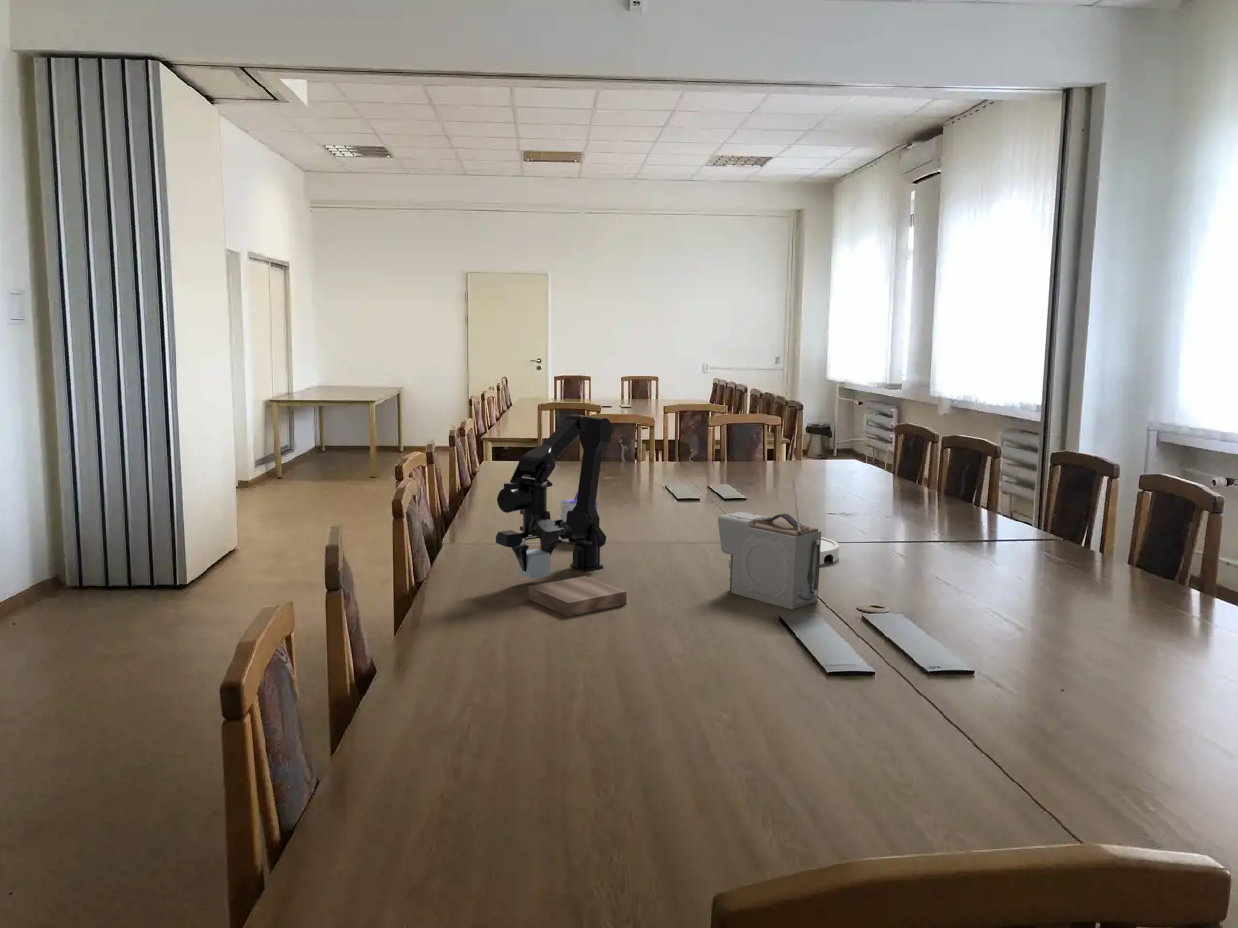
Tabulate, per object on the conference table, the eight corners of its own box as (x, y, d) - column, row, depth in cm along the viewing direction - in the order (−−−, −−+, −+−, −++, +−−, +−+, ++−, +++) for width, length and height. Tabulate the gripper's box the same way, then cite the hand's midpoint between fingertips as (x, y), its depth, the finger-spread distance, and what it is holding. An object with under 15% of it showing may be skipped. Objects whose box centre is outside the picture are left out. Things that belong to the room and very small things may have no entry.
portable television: (741, 580, 228) (746, 462, 224) (822, 601, 211) (829, 474, 207) (710, 589, 220) (714, 467, 215) (792, 611, 203) (799, 479, 199)
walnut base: (585, 588, 219) (585, 575, 218) (626, 604, 206) (626, 591, 206) (528, 598, 209) (528, 586, 208) (568, 616, 196) (568, 603, 196)
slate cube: (537, 570, 225) (538, 548, 224) (550, 575, 221) (550, 553, 220) (518, 573, 222) (519, 551, 221) (531, 578, 217) (531, 556, 217)
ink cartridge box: (597, 542, 267) (598, 494, 265) (587, 546, 262) (588, 496, 260) (569, 538, 272) (570, 490, 270) (559, 541, 267) (559, 493, 265)
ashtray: (832, 548, 266) (833, 535, 266) (843, 568, 243) (844, 553, 243) (752, 545, 268) (753, 532, 268) (756, 564, 246) (757, 550, 245)
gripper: (519, 516, 207) (519, 582, 209) (585, 507, 218) (584, 571, 220) (494, 508, 216) (494, 572, 218) (559, 500, 227) (559, 561, 229)
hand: (534, 569), depth 221 cm, fingers closed on slate cube, 5 cm apart
